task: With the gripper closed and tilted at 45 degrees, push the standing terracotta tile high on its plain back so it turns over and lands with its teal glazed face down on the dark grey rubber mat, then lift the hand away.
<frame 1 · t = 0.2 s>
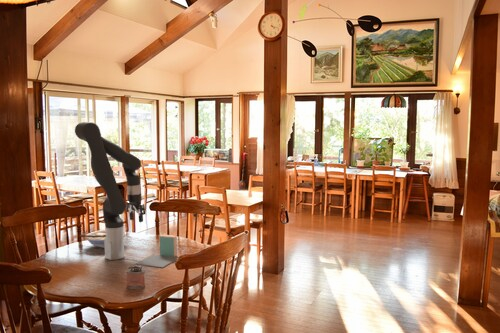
hand: (136, 220, 228), 18 cm above the table, tool pointing down, fingers open, 8 cm apart
rubber mat: (157, 261, 213), on the table
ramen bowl: (106, 246, 239), on the table
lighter: (135, 287, 179), on the table
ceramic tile: (168, 255, 223), on the table
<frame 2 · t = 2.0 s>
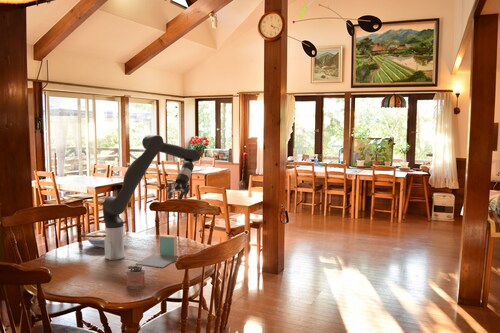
hand: (174, 199, 237), 28 cm above the table, tool tilted 45°, fingers open, 6 cm apart
nothing on the table moved.
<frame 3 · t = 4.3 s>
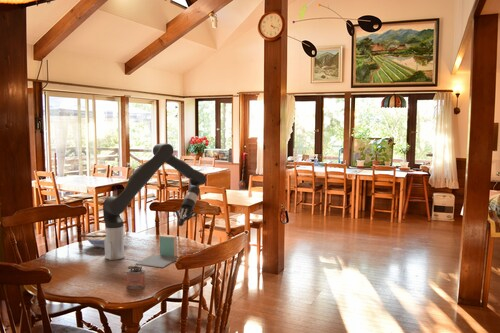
hand: (180, 225, 234), 14 cm above the table, tool tilted 45°, fingers closed
nothing on the table moved.
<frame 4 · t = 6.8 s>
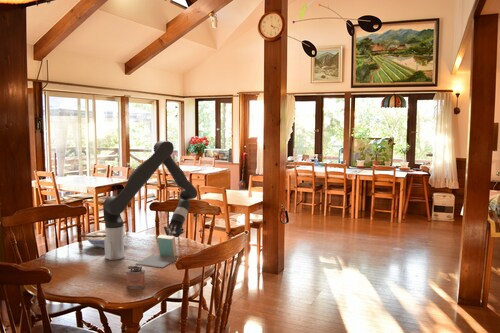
hand: (168, 242, 223), 7 cm above the table, tool tilted 45°, fingers closed
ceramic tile: (168, 254, 223), on the table, tilted 12°
everything else where it was.
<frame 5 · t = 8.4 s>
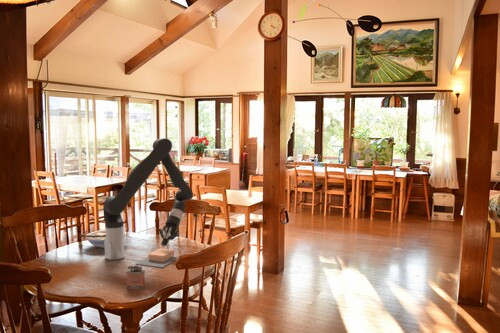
hand: (163, 245, 218), 7 cm above the table, tool tilted 45°, fingers closed
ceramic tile: (166, 251, 221), point 2 cm above the table, tilted 90°, touching rubber mat
everything else where it was.
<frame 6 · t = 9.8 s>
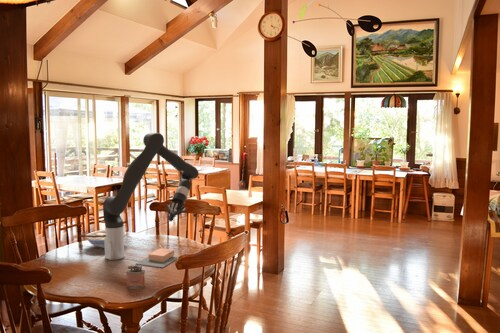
hand: (170, 220, 226), 18 cm above the table, tool tilted 45°, fingers closed
nothing on the table moved.
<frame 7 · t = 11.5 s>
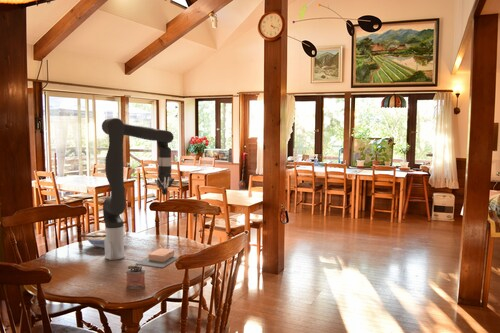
hand: (164, 194, 236), 31 cm above the table, tool pointing down, fingers closed
nothing on the table moved.
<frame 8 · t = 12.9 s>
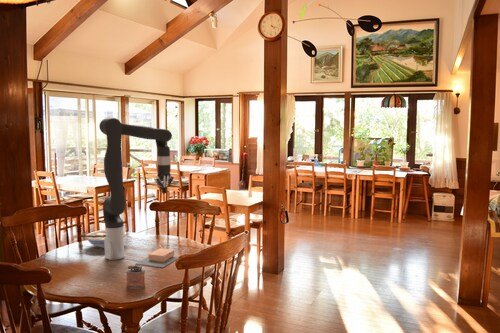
hand: (164, 193, 236), 32 cm above the table, tool pointing down, fingers closed
nothing on the table moved.
at the end: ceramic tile tilted 90°; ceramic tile touching rubber mat; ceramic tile inside the target area (0.5 cm from its centre), point 2.4 cm above the table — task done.
